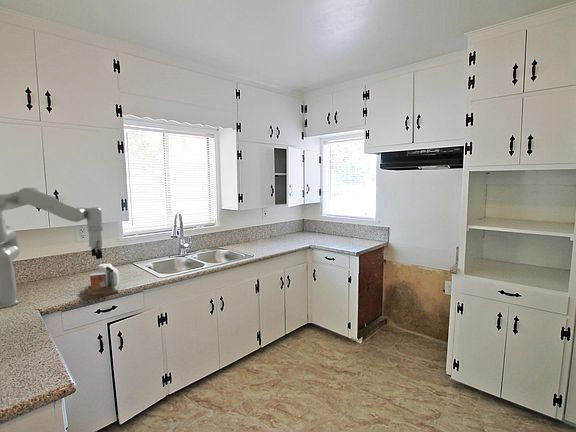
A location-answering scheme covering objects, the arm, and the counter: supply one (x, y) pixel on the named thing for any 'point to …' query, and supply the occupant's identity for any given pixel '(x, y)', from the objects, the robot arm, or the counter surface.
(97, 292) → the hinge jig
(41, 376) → the counter surface
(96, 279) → the small box
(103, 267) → the corner bracket
